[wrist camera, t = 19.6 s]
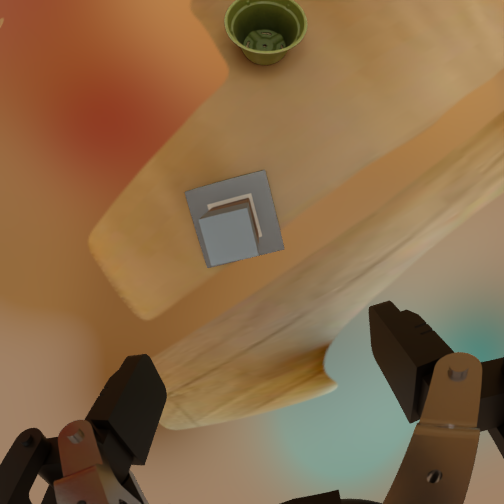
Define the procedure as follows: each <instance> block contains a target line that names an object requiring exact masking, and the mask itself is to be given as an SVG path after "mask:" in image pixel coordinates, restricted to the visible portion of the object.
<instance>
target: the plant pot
mask: <svg viewBox="0 0 504 504" xmlns="http://www.w3.org/2000/svg"><path fill="white" fill-rule="evenodd" d="M224 24H225V29H226V32H227V34H228V36H229V37H230V39H231V40H232V41H233V42H234V43H235V44H236V45H238V46H239V47H241V49H242V51H243V53H244V54H245V56H246V57H247V58H248V59H249V60H250V61H252V62H254V63H256V64H260V65H270V64H274V63H276V62H278V61H279V60H281V59H282V58H283V57H284V55H285V54H286V52H287V51H288V50H289V49H291V48H293V47H295V46H296V45H297V44H298V43H299V42H300V41H301V40H302V39H303V37H304V35H305V33H306V30H307V18H306V15H305V13H304V11H303V9H302V8H301V7H300V6H299V5H298V4H297V3H296V2H295V1H294V0H236V1H234V2H233V3H232V4H231V5H230V7H229V8H228V10H227V12H226V14H225V19H224ZM262 32H269V33H271V35H268V34H262ZM248 41H250V43H249V48H248V47H246V44H247V42H248ZM264 44H265V45H267V47H263V45H264ZM281 45H282V46H283V49H281Z"/></svg>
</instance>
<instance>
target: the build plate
mask: <svg viewBox="0 0 504 504" xmlns="http://www.w3.org/2000/svg"><path fill="white" fill-rule="evenodd" d="M185 195H186V199H187V202H188V206H189V209H190V213H191V216H192V219H193V223H194V226H195V229H196V233H197V236H198V239H199V243H200V246H201V249H202V252H203V256H204V259H205V262H206V265H207V268H210V267H214V266H218V265H214V266H211V263H210V259H209V256H208V252H207V249H206V245H205V242H204V238H203V234H202V231H201V227H200V223H199V219H200V218H201V217H202V216H203V215H204V214H205V213H206V212H208V211H209V210H210V209H211V208H212V207H216V206H219V205H223V204H227V203H230V202H234V201H238V200H241V199H245V198H249V200H250V203H251V207H252V211H253V214H254V218H255V222H256V226H257V229H258V233H259V243H258V251H259V255H263V254H267V253H271V252H276V251H279V250H284V245H283V240H282V236H281V232H280V228H279V224H278V220H277V216H276V212H275V208H274V204H273V200H272V196H271V192H270V188H269V184H268V180H267V176H266V172H265V170H262V171H258V172H254V173H250V174H247V175H243V176H239V177H235V178H231V179H228V180H224V181H220V182H217V183H213V184H210V185H206V186H203V187H199V188H196V189H192V190H189V191H186V192H185ZM250 258H251V257H250ZM246 259H247V258H246ZM241 260H243V259H241ZM237 261H239V260H237ZM232 262H235V261H232ZM228 263H231V262H228ZM223 264H227V263H223ZM223 264H219V265H223Z"/></svg>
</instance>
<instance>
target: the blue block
mask: <svg viewBox="0 0 504 504" xmlns="http://www.w3.org/2000/svg"><path fill="white" fill-rule="evenodd" d="M199 223H200V227H201V231H202V234H203V238H204V242H205V245H206V249H207V252H208V256H209V259H210V263H211V266H214V265H219V264H223V263H228V262H232V261H237V260H241V259H246V258H250V257H255V256H259V251H258V241H257V236H256V232H255V228H254V224H253V220H252V215H251V211H250V207H249V203H248V202H247V203H243V204H238V205H234V206H230V207H226V208H222V209H218V210H214V211H210V212H206V213H205V214H204V215H203V216H202V217H201V218H200V219H199Z"/></svg>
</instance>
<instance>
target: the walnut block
mask: <svg viewBox="0 0 504 504" xmlns="http://www.w3.org/2000/svg"><path fill="white" fill-rule="evenodd" d="M247 202H248V203H249V207H250V211H251V215H252V220H253V224H254V228H255V232H256V236H257V241H258V243H259V233H258V229H257V226H256V222H255V218H254V214H253V211H252V207H251V203H250V200H249V198H245V199H241V200H238V201H234V202H230V203H227V204H223V205H219V206H216V207H212V208H211V209H210V210H209V211H208V212H210V211H214V210H218V209H222V208H226V207H230V206H234V205H238V204H243V203H247Z"/></svg>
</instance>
